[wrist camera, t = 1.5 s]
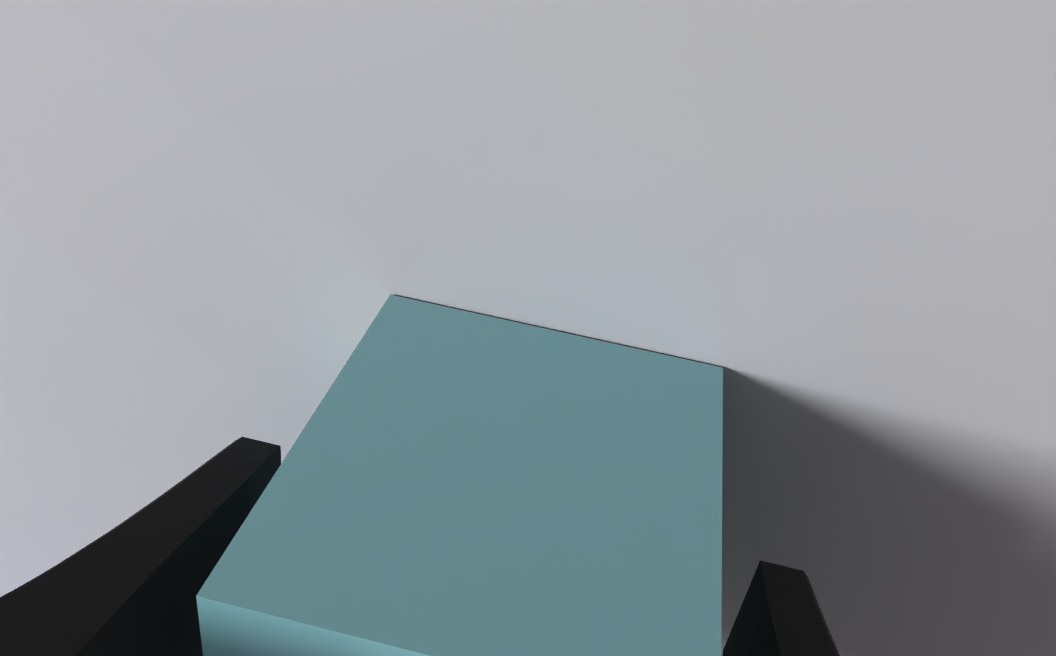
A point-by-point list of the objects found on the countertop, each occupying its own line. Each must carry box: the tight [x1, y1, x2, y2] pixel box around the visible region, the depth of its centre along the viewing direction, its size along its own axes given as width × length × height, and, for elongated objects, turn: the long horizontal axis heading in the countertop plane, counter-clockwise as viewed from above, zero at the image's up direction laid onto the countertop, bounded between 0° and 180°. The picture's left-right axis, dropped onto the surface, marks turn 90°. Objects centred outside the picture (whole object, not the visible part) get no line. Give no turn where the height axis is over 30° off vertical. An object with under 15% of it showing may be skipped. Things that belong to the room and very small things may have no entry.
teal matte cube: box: [196, 295, 723, 656], centre depth 12 cm, size 5×5×6 cm
